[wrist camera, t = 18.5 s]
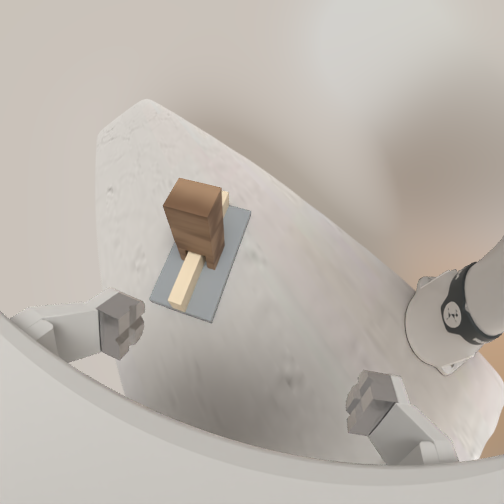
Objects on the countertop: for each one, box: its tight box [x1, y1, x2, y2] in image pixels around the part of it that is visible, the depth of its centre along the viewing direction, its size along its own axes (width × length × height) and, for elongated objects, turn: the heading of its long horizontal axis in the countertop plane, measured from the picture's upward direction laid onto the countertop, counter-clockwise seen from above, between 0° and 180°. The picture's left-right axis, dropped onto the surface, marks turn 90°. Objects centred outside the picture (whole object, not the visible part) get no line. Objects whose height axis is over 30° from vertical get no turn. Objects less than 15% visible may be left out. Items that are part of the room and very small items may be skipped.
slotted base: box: [149, 191, 251, 323], centre depth 44 cm, size 20×10×5 cm, turn 164°
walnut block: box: [163, 178, 225, 270], centre depth 38 cm, size 4×6×14 cm
